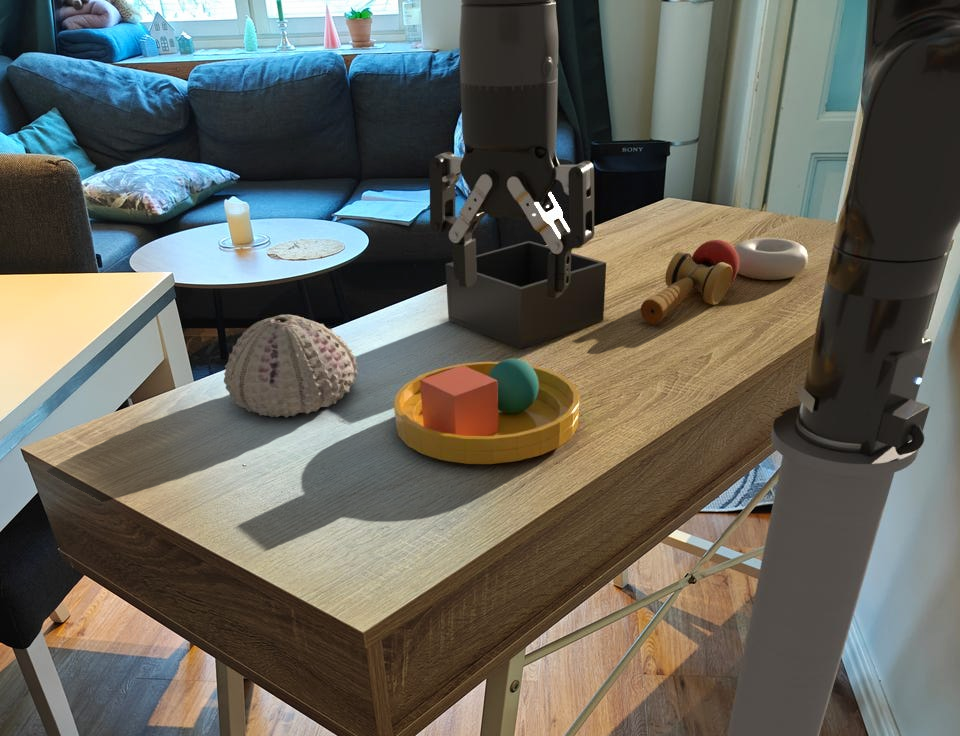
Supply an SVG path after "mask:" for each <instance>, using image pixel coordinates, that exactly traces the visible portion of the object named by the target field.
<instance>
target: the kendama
mask: <svg viewBox="0 0 960 736" xmlns="http://www.w3.org/2000/svg"><path fill="white" fill-rule="evenodd" d="M734 247H735V246H733V245H732V244H731V243H730V242H728V241H726V240H723V239H711V240H708V241H705V242H703V243H702V244H700V246H698V247H696V249H695V251H694V252H693V254H692V255H691V253H690V252H688V251H684V250H679V251H677V252H676V253H675V254H674V255H673V256H672V257H671V259H670V261H669V263H668V265H667V268H666V272H665V276H664V277H665V285H666V286H667V287H665V288H664V289H662V290H661V291H659V292H657V293H656V294H654V295H653V296H651V297H648V298H647V299H646V300H644V301H643V302H642V303H641V305H640V315H641V317H642V319H643V320H644V321H645V322H646V323H647V324H649V325H651V326H652V325H658V324H659V323H661V322H662V321H663V320H664V318H666V316H667V315H668V314H669V313H670V312H672V311H673V310H674V309H675V308H676V307H677V306H678V305H679V304H680V303H681V302H682V301H683V300H684V299H685V298H686V297H687V296H688V294H689V293H690V292H691V291H692V290H693V289H695V290H696V291H699V292H700V294H701V296H702V298H703V302H705V303H706V304H710V305H713V306H715V305H718V304H719V303H720V302H721V301H722V300H723V299H724V297H725V295H726V294H727V293H728V290H729V288H730V287H731V283H732V282H733V281H734V280H735V278H736V277H737V275H738V273H737V272H738V269H739V257H738V254H737V251H736V250H735V248H734Z"/></svg>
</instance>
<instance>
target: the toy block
mask: <svg viewBox="0 0 960 736" xmlns="http://www.w3.org/2000/svg"><path fill="white" fill-rule="evenodd" d="M420 388H421V401H422V414H423V426H424V427H425V428H429V429H432V430H435V431H439V432H442V433H449V434H456V435H464V436H489V435H491V434H494V433H496V432H498V391H497V380H495V379H493V378H491V377H488V376H486V375H484V374H482V373H479V372H477V371H475V370H472V369H470V368H468V367H466V366H463V365H461V366H459V367H456V368H453V369H450V370H447V371H444V372H442V373H439V374H436V375H433V376H430V377H427V378H424V379H422V380H420Z"/></svg>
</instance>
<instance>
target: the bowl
mask: <svg viewBox="0 0 960 736" xmlns="http://www.w3.org/2000/svg"><path fill="white" fill-rule="evenodd" d="M499 362H500V361H478V362H468V363H460V364H458V363H457V364H453V365H450V366H444V367H439V368H437V369H433V370H431V371H428V372H425V373H422V374H420V375H418V376H416V377H415V378H413V379H411V380H409V381H408V382H406V383H405V384H404V385H403V386H402V387H401V388H400V389H399V390H398V391H397V393H396V395H395V398H394V399H393V411H394V420H395V421H394V422H395V428H396V432H397V436H398V437H399V438H400V440H402V442H403V443H404V444H405V445H406V446H407V447H409V448H410V449H412V450H414V451H416V452H418V453H419V454H422V455H424V456H426V457H430V458H433V459H437V460H440V461H445V462H451V463H459V464H466V465H494V464H496V465H497V464H503V463H511V462H512V463H513V462H517V461H518V462H519V461H523V460H527V459H532V458H534V457H538V456H542V455H544V454H547V453H549V452H552V451H553V450H555V449H556V450H557V449H558V448H560V447H561V446H563V445H564V444H565V443H566V442H568V441H569V440H571V439H572V437H573V436H574V434H575V433H576V432H577V430H578V428H579V421H580V420H579V419H580V418H579V417H580V392H579V390H578V388H577V387H576V385H575V384H574V382H572V381H571V380H569V379H568V378H566V377H565V376H563V374H560V373H558V372H555V371H552V370H551V369H547V368H544V367H541V366H537V365H531V364H529V365H530V366H531V367H532V368H533V370H534V371H535V373H536V375H537V378H538V384H539V389H538V394H537V397H536V399H535V401H534V402H533V404H532V405H531V406H530V407H529V408H527V409H526V410H524V411H522V412H519V413H513V414H511V413H505V412H502V411H500V410H498V432H496V433H494V434H491V435H489V436H464V435H456V434H449V433H442V432H439V431H435V430H432V429H429V428H425V427H424V426H423V414H422V401H421V388H420V380H422V379H424V378H427V377H430V376H433V375H436V374H439V373H442V372H444V371H447V370H450V369H453V368H456V367H459V366H461V365H463V366H466V367H468V368H470V369H472V370H475V371H477V372H479V373H482V374H484V375H486V376H488V375H489V373H490V371H491V370H492V368H493V367H494V366H495V365H496V364H498V363H499Z"/></svg>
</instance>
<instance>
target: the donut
mask: <svg viewBox="0 0 960 736" xmlns="http://www.w3.org/2000/svg"><path fill="white" fill-rule="evenodd" d="M733 247H734V248H735V250H736V251H737V254H738V257H739V269H738V272H737V275H740V276H743V277H745V278H750V279H754V280H761V281H762V280H763V281H779V280H785V279H790V278H793V277H795V276H797V275H800V274H801V273H802V272H803V271H804V270H805V268H806V267H807V265H808V262H809V254H808V252H807V249H806V247H804V246H803V245H801V244H800V243H799V242H797V241H795V240H790V239H786V238H777V237H756V238H755V237H754V238H750V239H746V240H744V241H741V242H739V243H737V245H735V246H733Z"/></svg>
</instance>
